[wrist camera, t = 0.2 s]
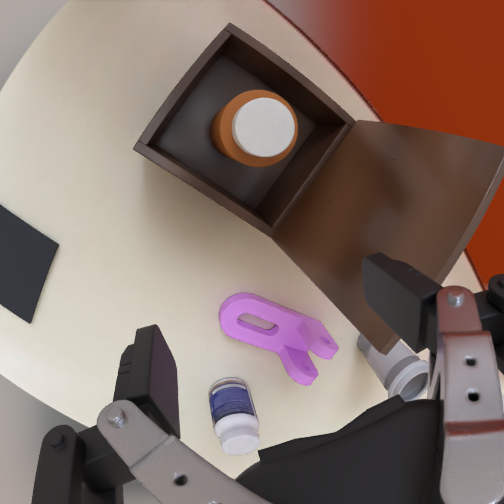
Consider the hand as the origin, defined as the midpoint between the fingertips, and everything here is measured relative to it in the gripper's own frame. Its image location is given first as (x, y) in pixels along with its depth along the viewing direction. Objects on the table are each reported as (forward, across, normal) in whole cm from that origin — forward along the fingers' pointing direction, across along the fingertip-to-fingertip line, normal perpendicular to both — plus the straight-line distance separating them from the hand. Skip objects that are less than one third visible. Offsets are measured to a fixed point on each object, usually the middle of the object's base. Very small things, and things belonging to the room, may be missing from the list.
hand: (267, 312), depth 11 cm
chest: (+22, -4, -6) cm, 23 cm away
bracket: (+22, -2, +17) cm, 28 cm away
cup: (+22, -16, +26) cm, 38 cm away
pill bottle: (+22, +6, +26) cm, 35 cm away
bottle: (+21, -4, -6) cm, 22 cm away
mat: (+22, +26, -1) cm, 34 cm away
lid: (+7, -9, 0) cm, 11 cm away
